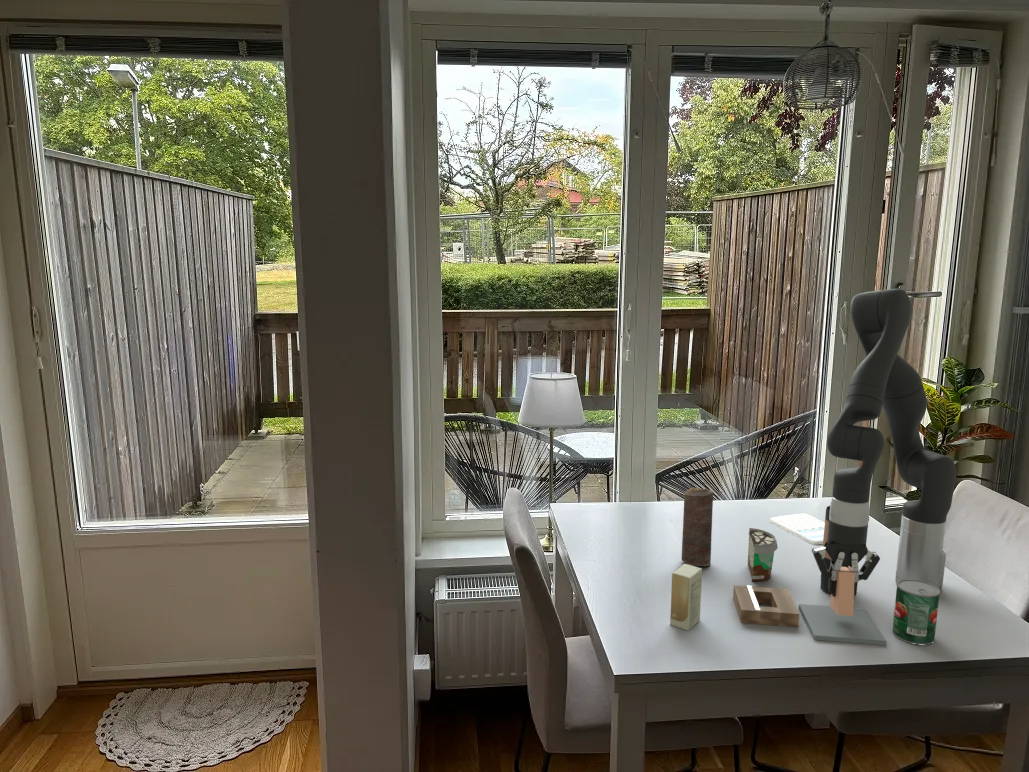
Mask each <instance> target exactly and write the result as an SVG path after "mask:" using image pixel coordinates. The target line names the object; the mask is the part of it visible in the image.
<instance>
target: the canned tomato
mask: <svg viewBox="0 0 1029 772" xmlns="http://www.w3.org/2000/svg"><path fill="white" fill-rule="evenodd" d="M940 595H941V591H940V590H939V589H938V588H937V587H936V586H934V585H933V584H930V583H928V582H924V581H920V580H915V579H903V580H900V581H898V582H897V583H896V591H895V601H894V603H895V604H894V611H893V619H892V620H893V621H892V629H891V633H892V635H893V634H894V635H893V636H896V637H895V638H897V639H898V638H899V639H898V640H900V639H901V640H900V641H902V640H903V641H902V642H904V641H906V642H905V643H907V642H909V643H908V644H910V643H915V644H930V643H932V642H934V643H935V640H936V639H935V637H936V629H937V620H938V613H939V612H938V610H939V603H940ZM932 644H933V643H932ZM930 645H931V644H930Z"/></svg>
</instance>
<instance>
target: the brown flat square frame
mask: <svg viewBox="0 0 1029 772" xmlns="http://www.w3.org/2000/svg"><path fill="white" fill-rule="evenodd" d="M732 591H733V592H732V598H733V601H734V605H735V608H736V611H737V615H738V618H739V621H740V623H741V624H743V623H744V624H753V625H754V624H755V625H768V626H770V625H771V626H780V627H781V626H782V627H793V628H799V626H800V613H799V612H800V611H799V609H797V606H796V604H795V602H794V600H793V598H792V595H791V593H790V591H789V589H788V588H777V587H776V588H774V587H760V586H759V587H758V586H752V585H751V584H749V585H745V586H744V585H733V590H732ZM759 604H760V605H761V606H759ZM762 605H769V606H762Z"/></svg>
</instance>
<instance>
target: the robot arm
mask: <svg viewBox="0 0 1029 772" xmlns="http://www.w3.org/2000/svg"><path fill="white" fill-rule="evenodd" d="M850 315H851V317H850V318H851V320H852V321H851V322H852V324H853V327H854V329H855V333H856V334H857V336H858V338H859V341H860V343H861V346H862V348H863V350H864V353H865V355H866V357H865V358H864V359H863V360H862V361H861V363H860V364H858V366H857V367H856V369H854V370H855V371H854V372H853V373H852V375H851V377H850V380H849V384H848V389H847V394H846V397H845V400H844V401H845V402H844V405H843V407H842V410H841V412H840V414H839V416H838V418H837V419H836V421H835V422H834V425H833V426H832V427H831V428H830V429H831V430H830V431H829V433H828V434H827V435H828V436H827V438H826V439H827V440H826V447H827V450H828V452H829V453H830V454H831V455H832V456H834V457H835V458H840V459H847V460H852V461H859V462H862V463H861V465H860V466H858V467H850V468H849V467H845V468H839V469H838V470H835V472H834V475H833V482H832V483H833V484H832V494H831V501H830V504H829V506H830V513H829V524H828V536H827V541H826V543H825V544H824V547H823V546H822V547H819V548H816V547H813V548H812V549H811V553H812V555H813V559H814V560H815V563H816V566H817V568H818V569H819V572H820V574H821V573H822V575H823V577H827V578H829V581H828V590H829V592H830V594H831V595H832V596H833V597H836V588H837V577H838V571H840V569H841V566H844V565H847V566H848V567H849V570H851V572H854V573H855V576H854V597H855V596H856V595H857V592H858V583H859V581H862V580H863V581H867V580H868V579H869V578H870V576H871V575H872V573H873V571H874V569H875V568H876V567H877V565H878V563H879V562H880V560H881V557H880V556H879V555H878V553H876V552H875V551H871V550H869V549H868V547H867V538H868V528H869V521H870V495H871V494H870V493H871V486H872V484H871V483H872V479H873V474H874V473H875V469H876V466H877V464H878V463H879V460H880V458H881V456H882V454H883V451H884V449H885V443H886V442H885V437H884V435H883V433H882V432H881V431H880V430H879V429H877V428H874V427H869V426H868V427H866V426H860V425H855V424H857V423H860V422H867V421H874V420H876V419H877V420H878V418H879V417H880V415H881V412H882V409H883V411H884V415H885V417H886V421H887V425H888V429H889V432H890V436H891V440H892V444H893V450H894V456H895V461H896V467H897V471H898V474H899V477H900V478H901V480H902V481H903V482H904V483H905V484H907V485H909V486H911V487H914V488H917V489H920V490H921V495H920V498H919V499H913V500H908V501H905V502H904V503H903V505H902V512H901V520H900V530H899V531H900V532H899V541H898V550H897V562H896V571H895V579H894V580H895V583H896V584H897V582H898V581H900V580H903V579H915V580H920V581H924V582H928V583H930V584H933V585H934V586H936V587H937V588H938V589H939V590H940V592H943V586H944V578H945V577H944V576H945V568H946V558H947V553H946V552H945V551H944V543H945V534H946V533H945V532H946V524H947V517H948V514H949V512H950V510H951V507H952V503H953V497H954V492H955V486H956V480H957V468H956V464H955V462H954V460H953V459H952V458H951V457H949V456H948V455H944V454H942V453H938V452H934V451H932V450H927V449H926V447H925V446H924V444H923V442H922V438H921V435H920V425H921V423H922V421H923V419H924V416H925V414H926V411H927V409H928V408H927V407H928V397H927V395H926V391H925V388H924V384H923V381H922V377H921V376H920V374H919V372H917V371H916V369H915V368H914V367H913V366H912V365H911V364H910V363H909V362H907V361H906V360H905V359H904V358H902V356H900V355H899V351H900V348H901V346H902V343H903V341H904V338H905V335H906V332H907V330H908V327H909V325H910V321H911V317H912V303H911V299H910V297H909V294H908V293H907V292H906V291H905V290H904V289H901V288H890V289H889V288H887V289H881V290H872V291H866V292H861V293H857V294H856V295H854V296H853V297H852V299H851V302H850ZM826 552H827V553H828V555H829V556H830V558H831V561H830V568H829V570H827V569H826V567H825V565H824V562H823V560H822V559H823V558H824V557H825V553H826ZM863 559H865V561H864V562H863V564H862V565H861V567H860V569H859V564H860V562H861V561H862V560H863ZM830 594H829V595H830ZM831 595H830V596H831Z"/></svg>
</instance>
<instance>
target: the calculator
mask: <svg viewBox="0 0 1029 772" xmlns="http://www.w3.org/2000/svg"><path fill="white" fill-rule="evenodd" d="M769 521H770V523H772V524H773V525H776V526H778V527H779V528H780V529H783V530H785V531H786V532H788V531H789V532H788V533H790V532H791V533H790V534H792V533H793V534H792V535H794V536H796V537H798V538H800V539H801V540H803V539H804V540H803V541H805V540H806V541H805V542H807V541H808V543H809V544H811V545H814V546H819V544H820V545H823V537H824V526H825V521H822V520H821V519H818V518H816V517H814V516H811V515H810V514H807V513H806V512H805V513H803V512H802V513H794V514H786V515H780V516H774V517H773V516H771V518H770V519H769Z"/></svg>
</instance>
